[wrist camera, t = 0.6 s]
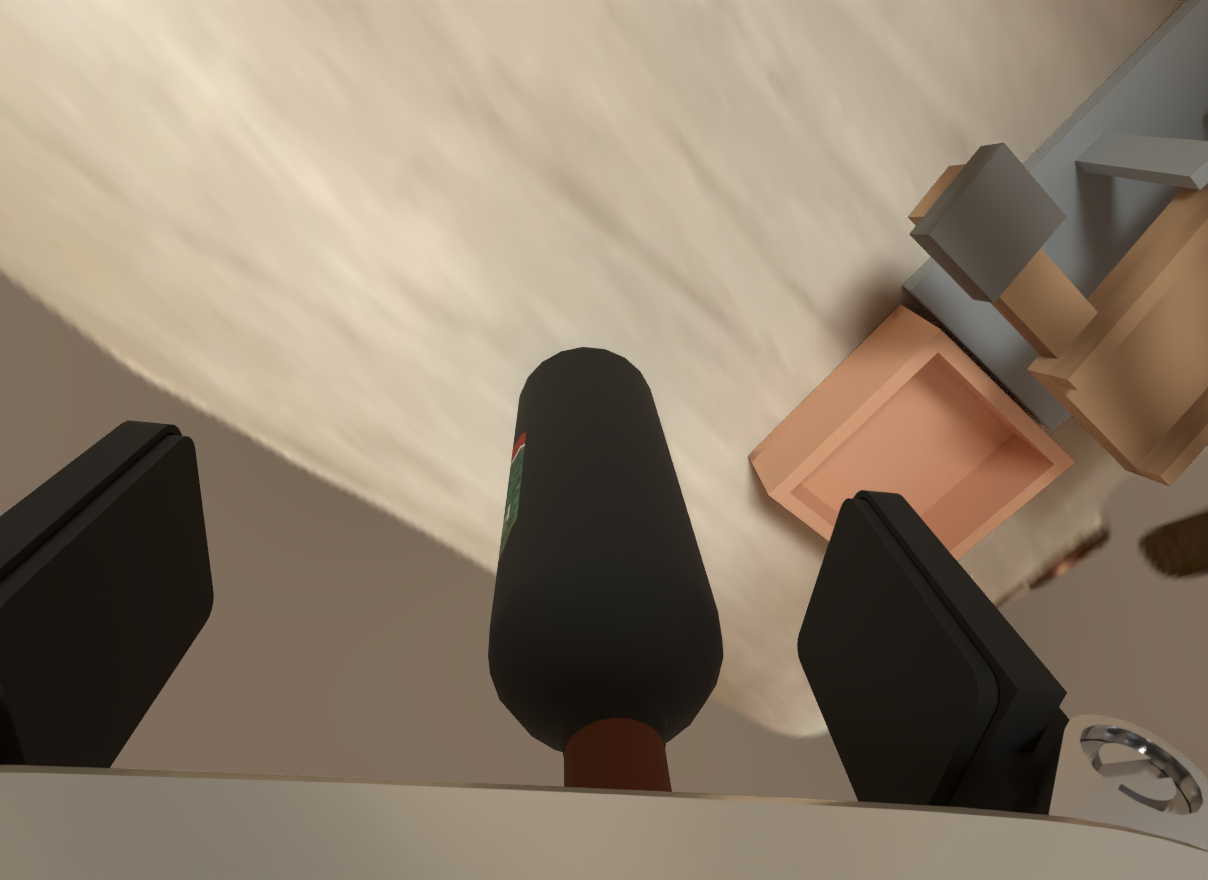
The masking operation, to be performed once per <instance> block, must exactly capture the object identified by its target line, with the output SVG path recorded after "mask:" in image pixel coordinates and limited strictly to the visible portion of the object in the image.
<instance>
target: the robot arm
mask: <svg viewBox="0 0 1208 880" xmlns="http://www.w3.org/2000/svg"><path fill="white" fill-rule="evenodd" d="M213 597H214V596H213V585H212V578H211V571H210V562H209V554H208V546H207V538H206V531H205V523H204V515H203V507H202V499H201V491H200V483H199V476H198V468H197V460H196V452H195V446H194V443H193V441H192V439H191V438H190V437H187V436H182V434H181V432H180V430H179V428H178V427H176V426H175V425H170V424H159V423H149V422H139V421H126V422H124V423H122V424H120V425H119V426H118V427H116V428H115V429H114V430H113V431H111V432H110V433H109V434H107V435H106V436H105V437H103V438H102V439H101V440H100V441H98V442H97V443H96V444H94V445H93V446H92V447H90V448H89V449H88V450H87V451H85V452H84V453H83V454H81V455H80V456H79V457H77V458H76V459H75V460H73V461H72V462H71V463H70V464H68V465H67V466H66V467H64V468H63V469H62V470H60V471H59V472H58V473H56V474H55V475H54V476H53V477H51V478H50V479H49V480H47V481H46V482H45V483H43V484H42V485H41V486H39V487H38V488H37V489H36V490H35V491H33V492H32V493H30V494H29V495H28V496H26V497H25V498H24V499H23V500H21V501H20V502H19V503H17V504H16V505H15V506H13V507H12V508H11V509H9V510H8V511H7V512H5V513H4V514H3V515H2V516H0V880H1208V780H1207V779H1206V777H1205V776H1204V774H1203V773H1202V772H1200V770H1199V769H1198V768H1197V767H1196V766H1194V765H1193V764H1192V763H1191V762H1190V761H1189V760H1188V759H1187V758H1186V757H1185V756H1184V755H1182V754H1181V753H1180V752H1179V751H1177V750H1176V749H1174V748H1173V747H1172V746H1170V745H1169V744H1168V743H1166V742H1165V741H1164V740H1162V739H1160V738H1158V737H1157V736H1155V735H1153V734H1151V733H1149V732H1148V731H1146V730H1144V729H1142V728H1140V727H1138V726H1135V725H1133V724H1130V723H1128V722H1125V721H1123V720H1120V719H1117V718H1113V717H1108V716H1104V715H1099V714H1090V715H1089V714H1087V715H1080V716H1077V717H1075V718H1073V719H1070V720H1069V719H1068V718H1067V716H1066V715H1065V714H1064V713H1063V711H1062V710H1061V709H1060V708H1059V706H1060V704H1061V702H1062V700H1063V699H1064V697H1065V695H1066V693H1067V692H1066V691H1065V689H1064V688H1063V687H1062V686H1061V685H1060V684H1059V683H1058V681H1057V680H1056V679H1055V678H1054V676H1052V674H1051V673H1050V672H1049V670H1048V669H1047V668H1046V667H1045V666H1044V665H1043V663H1042V662H1041V661H1040V660H1039V658H1038V657H1037V656H1036V655H1035V654H1034V652H1033V651H1032V650H1031V649H1030V648H1029V647H1028V645H1027V644H1026V643H1025V642H1024V640H1023V639H1022V638H1021V637H1020V636H1019V635H1018V633H1017V632H1016V631H1015V630H1014V629H1013V627H1012V626H1011V625H1010V624H1009V623H1008V621H1007V620H1006V619H1005V618H1004V617H1003V615H1002V614H1001V613H1000V612H999V611H998V609H997V608H996V607H995V606H994V605H993V603H992V602H991V601H990V600H989V599H988V597H987V596H986V595H985V594H984V593H983V591H982V590H981V589H980V588H979V587H978V586H977V584H976V583H975V582H974V581H973V580H972V578H971V577H970V576H969V575H968V574H967V572H966V571H965V570H964V569H963V568H962V566H961V565H960V564H959V563H958V562H957V560H956V559H955V558H954V557H953V556H952V554H951V553H950V552H949V551H948V550H947V548H946V547H945V546H944V545H943V544H942V543H941V541H940V540H939V539H938V538H937V537H936V535H935V534H934V533H933V532H932V531H931V529H930V528H929V527H928V526H927V525H926V523H925V522H924V521H923V520H922V519H921V517H920V516H919V515H918V514H917V513H916V511H915V510H914V509H913V508H912V507H911V505H910V504H909V503H908V502H907V501H906V499H905V498H904V497H903V496H902V495H900V494H898V493H888V492H878V491H867V490H861V491H859V492H857V493H856V495H855V496H854V497H853V499H852V498H847V499H846V500H845V501H844V502H843V503H842V505H841V508H840V511H839V514H838V517H837V520H836V523H835V526H834V529H833V532H832V535H831V538H830V541H829V544H828V547H827V550H826V553H825V556H824V559H823V562H822V565H821V569H820V572H819V575H818V578H817V581H816V584H815V587H814V590H813V593H812V596H811V599H810V602H809V605H808V608H807V611H806V614H805V617H804V620H803V623H802V626H801V629H800V632H799V636H798V644H797V647H798V656H799V660H800V662H801V665H802V667H803V670H804V672H805V674H806V677H807V679H808V682H809V684H810V686H811V689H812V691H813V694H814V696H815V698H816V701H817V703H818V706H819V708H820V710H821V713H822V715H823V718H824V720H825V722H826V725H827V727H828V730H829V732H830V734H831V736H832V739H833V742H834V744H835V746H836V749H837V751H838V754H839V756H840V758H841V761H842V763H843V765H844V768H845V770H846V773H847V775H848V777H849V780H850V782H851V784H852V787H853V789H854V792H855V794H856V797H857V799H858V801H840V800H822V799H821V800H820V799H802V798H780V797H763V796H742V795H723V794H704V793H683V792H665V791H644V790H622V789H600V788H579V787H557V786H535V785H511V784H490V783H467V782H445V781H421V780H399V779H376V778H375V779H374V778H351V777H349V778H348V777H325V776H300V775H274V774H248V773H224V772H198V771H171V770H146V769H120V768H119V769H118V768H110V767H111V765H112V763H113V762H114V760H115V759H116V757H117V756H118V754H119V753H120V751H121V750H122V748H123V747H124V745H125V744H126V742H127V741H128V739H129V738H130V736H131V735H132V733H133V732H134V730H135V729H136V727H137V726H138V724H139V722H140V721H141V720H142V718H143V717H144V715H145V714H146V712H147V711H148V709H149V708H150V706H151V704H152V703H153V702H154V700H155V699H156V697H157V696H158V694H159V693H160V691H161V690H162V688H163V687H164V685H165V683H166V682H167V680H168V679H169V677H170V676H171V674H172V673H173V671H174V670H175V668H176V667H177V665H178V664H179V662H180V661H181V659H182V658H183V656H184V655H185V653H186V652H187V650H188V649H189V647H190V646H191V644H192V643H193V641H194V640H195V638H196V637H197V635H198V634H199V632H200V631H201V629H202V628H203V626H204V625H205V623H206V622H207V620H208V618H209V616H210V613H211V610H212V605H213Z"/></svg>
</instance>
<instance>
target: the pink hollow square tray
mask: <svg viewBox="0 0 1208 880" xmlns="http://www.w3.org/2000/svg"><path fill="white" fill-rule="evenodd" d="M749 458H750V460H751V462H752V464H753V466H754V468H755V470H756V472H757V474H758V476H759V478H760V480H761V482H762V484H763V485H764V487H765V489H766V491H767V493H768V495H769V496H770V497H772V498H773V499H774V500H776V501H777V502H778V503H779V504H781V505H782V506H783V507H785V508H786V509H787V510H789V511H790V512H791V513H792V514H794V515H795V516H796V517H798V518H799V519H800V520H802V521H803V522H804V523H806V524H807V525H808V526H809V527H811V528H812V529H813V530H815V531H816V532H817V533H819V534H820V535H821V536H822V537H824V538H825V539H826V540H828V541H830V538H831V535H832V532H833V529H834V526H835V523H836V520H837V517H838V514H839V511H840V508H841V505H842V503H843V502H844V501H845V500H846V499H847V498H852V499H853V497H854V496H855V495H856V493H857V492H859V491H861V490H867V491H878V492H888V493H898V494H900V495H902V496H903V497H904V498H905V499H906V501H907V502H908V503H909V504H910V505H911V507H912V508H913V509H914V510H915V511H916V513H917V514H918V515H919V516H920V517H921V519H922V520H923V521H924V522H925V523H926V525H927V526H928V527H929V528H930V529H931V531H932V532H933V533H934V534H935V535H936V537H937V538H938V539H939V540H940V541H941V543H942V544H943V545H944V546H945V547H946V548H947V550H948V551H949V552H950V553H951V554H952V556H953V557H954V558H955V559H956V560H958V559H959V558H960V557H961V556H963V555H964V554H965V553H966V552H967V551H969V550H970V549H971V548H972V547H973V546H975V545H976V544H977V543H978V542H979V541H981V540H982V539H983V538H984V537H986V536H987V535H988V534H989V533H990V532H992V531H993V530H994V529H995V528H996V527H998V526H999V525H1000V524H1001V523H1002V522H1004V521H1005V520H1006V519H1007V518H1009V517H1010V516H1011V515H1012V514H1013V513H1015V512H1016V511H1017V510H1018V509H1019V508H1021V507H1022V506H1023V505H1024V504H1025V503H1027V502H1028V501H1029V500H1030V499H1032V498H1033V497H1034V496H1035V495H1036V494H1038V493H1039V492H1040V491H1041V490H1042V489H1044V488H1045V487H1046V486H1047V485H1048V484H1050V483H1051V482H1052V481H1053V480H1055V479H1056V478H1057V477H1058V476H1059V475H1061V474H1062V473H1063V472H1064V471H1065V470H1067V469H1068V468H1069V467H1070V466H1071V465H1073V464H1074V463H1075V461H1074V460H1073V459H1072V458H1071V457H1070V456H1069V455H1068V454H1067V453H1066V452H1065V451H1064V450H1063V449H1062V448H1061V447H1060V446H1059V445H1058V444H1057V443H1056V442H1055V441H1054V440H1053V439H1051V438H1050V437H1049V436H1048V435H1047V434H1046V433H1045V432H1044V431H1043V430H1042V429H1041V428H1040V427H1039V426H1038V425H1037V424H1036V423H1035V422H1034V421H1033V420H1032V419H1031V418H1030V417H1029V416H1028V415H1027V414H1026V413H1025V412H1024V411H1023V410H1022V409H1021V408H1020V407H1019V406H1018V405H1017V404H1016V403H1015V402H1014V401H1013V400H1012V399H1011V398H1010V397H1009V396H1008V395H1007V394H1006V393H1005V392H1004V391H1003V390H1002V389H1001V388H1000V387H999V386H998V385H997V384H996V383H995V382H994V381H993V380H992V379H991V378H990V377H989V376H988V375H987V374H985V373H984V372H983V371H982V370H981V369H980V368H979V367H978V366H977V365H976V364H975V363H974V362H973V361H972V360H971V359H970V358H969V357H968V356H967V355H966V354H965V353H964V352H963V351H962V350H961V349H960V348H959V347H958V346H957V345H956V344H955V343H954V342H953V341H952V340H951V339H950V338H949V337H948V336H947V335H946V334H945V333H944V332H943V331H942V330H941V329H939V328H938V327H936V326H934V325H933V324H931V323H930V322H928V321H926V320H925V319H923V318H922V317H920V316H918V315H917V314H915V313H914V312H912V311H910V310H909V309H907V308H906V307H904V306H903V305H901V304H900V305H899V306H898V307H897V308H896V309H895V310H894V311H893V312H892V313H891V314H890V315H889V316H888V317H887V318H886V319H885V320H884V321H883V322H882V323H881V324H880V325H879V326H878V327H877V328H876V329H875V330H874V331H873V332H872V333H871V334H870V335H869V336H868V337H867V338H866V339H865V340H864V341H863V342H862V343H861V344H860V345H859V346H858V347H857V348H856V349H855V350H854V351H853V352H852V353H851V354H850V355H849V356H848V357H847V358H846V359H845V360H844V361H843V362H842V363H841V364H840V365H839V366H838V367H837V368H836V369H835V370H834V371H833V372H832V373H831V374H830V375H829V376H828V377H827V378H826V379H825V380H824V381H823V382H822V383H821V384H820V385H819V386H818V387H817V388H816V389H815V390H814V391H813V392H812V393H811V394H810V395H809V396H808V397H807V398H806V399H805V400H804V401H803V402H802V403H801V404H800V405H799V406H798V407H797V408H796V409H795V410H794V411H793V412H792V413H791V414H790V415H789V416H788V417H787V418H786V419H785V420H784V421H783V422H782V423H781V424H780V425H779V426H778V427H777V428H776V429H775V430H774V431H773V432H772V433H771V434H770V435H769V436H768V437H767V438H766V439H765V440H764V441H763V442H762V443H761V444H760V445H759V446H758V447H757V448H756V449H755V450H754V451H753V452H752V453H751V454H750V455H749Z"/></svg>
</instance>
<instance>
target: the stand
mask: <svg viewBox="0 0 1208 880" xmlns="http://www.w3.org/2000/svg"><path fill="white" fill-rule="evenodd" d="M1023 166H1024V167H1025V168H1026V169H1027V170H1028V172H1029V173H1030V174H1031V175H1032V176H1033V178H1034V179H1035V180H1036V181H1037V182H1038V183H1039V185H1040V186H1041V187H1042V188H1043V189H1044V190H1045V192H1046V193H1047V194H1048V195H1049V196H1050V198H1051V199H1052V200H1053V201H1054V202H1055V203H1056V205H1057V206H1058V207H1059V208H1060V209H1061V210H1062V212H1063V213H1064V214H1065V215H1066V216H1067V217H1066V218H1065V220H1064V221H1063V222H1062V223H1061V224H1060V226H1059V227H1058V228H1057V229H1056V230H1055V231H1054V233H1053V234H1052V235H1051V236H1050V237H1049V239H1048V240H1047V241H1046V242H1045V243H1044V245H1043V246H1042V247H1041V249H1042V250H1043V251H1044V252H1045V253H1046V254H1047V256H1048V257H1049V258H1050V259H1051V260H1052V261H1053V262H1054V264H1055V265H1056V266H1057V267H1058V268H1059V269H1060V270H1061V271H1062V273H1063V274H1064V275H1065V276H1066V277H1067V278H1068V279H1069V280H1070V282H1071V283H1072V284H1073V285H1074V286H1075V287H1076V288H1077V289H1078V291H1079V292H1080V293H1081V294H1082V295H1083V296H1084V297H1085V298H1086V300H1087V299H1088V298H1089V297H1090V295H1091V294H1092V293H1093V292H1094V291H1095V290H1096V288H1097V287H1098V286H1099V285H1100V284H1101V283H1102V281H1103V280H1104V279H1105V278H1106V277H1107V276H1108V275H1109V273H1110V272H1111V271H1112V270H1113V269H1114V268H1115V266H1116V265H1117V264H1118V263H1119V262H1120V261H1121V259H1122V258H1123V257H1124V256H1125V255H1126V254H1127V252H1128V251H1129V250H1130V249H1131V248H1132V247H1133V245H1134V244H1135V243H1136V242H1137V241H1138V240H1139V238H1140V237H1141V236H1142V235H1143V234H1144V233H1145V231H1146V230H1147V229H1148V228H1149V227H1150V226H1151V224H1152V223H1153V222H1154V221H1155V220H1156V219H1157V217H1158V216H1159V215H1160V214H1161V213H1162V212H1163V210H1164V209H1165V208H1166V207H1167V206H1168V205H1169V204H1170V202H1171V201H1172V200H1173V199H1174V198H1175V197H1176V195H1177V194H1178V193H1179V192H1180V191H1181V190H1182V188H1183V187H1184V188H1190V189H1197V190H1201V189H1202V188H1203V187H1204V186H1205V185H1206V184H1207V183H1208V0H1186V1H1185V2H1184V3H1183V4H1182V5H1181V6H1180V7H1179V8H1178V9H1177V10H1176V11H1175V12H1174V13H1173V14H1172V15H1171V16H1170V17H1169V18H1168V19H1167V20H1166V21H1165V22H1164V23H1163V24H1162V25H1161V26H1160V27H1159V28H1158V29H1157V31H1156V32H1155V33H1154V34H1153V35H1152V36H1151V37H1150V38H1149V39H1148V40H1147V41H1146V42H1145V43H1144V44H1143V45H1142V46H1141V47H1140V48H1139V49H1138V50H1137V51H1136V52H1135V53H1134V54H1133V55H1132V56H1131V57H1130V58H1129V59H1128V60H1127V61H1126V62H1125V63H1124V64H1123V65H1122V66H1121V67H1120V68H1119V69H1118V70H1117V71H1116V72H1115V73H1114V74H1113V75H1112V76H1111V77H1110V78H1109V79H1108V80H1107V81H1106V82H1105V83H1104V84H1103V85H1102V86H1101V87H1100V88H1099V89H1098V90H1097V91H1096V92H1095V93H1094V94H1093V95H1092V96H1091V97H1090V98H1089V99H1088V100H1087V101H1086V102H1085V103H1084V104H1083V105H1082V106H1081V107H1080V108H1079V109H1078V110H1077V111H1076V112H1075V113H1074V114H1073V115H1072V116H1071V117H1070V118H1069V119H1068V120H1067V121H1066V122H1065V123H1064V124H1063V125H1062V126H1061V127H1060V128H1059V129H1058V130H1057V131H1056V132H1055V133H1054V134H1053V135H1052V136H1051V137H1050V138H1049V139H1048V140H1047V141H1046V142H1045V143H1044V144H1043V145H1042V146H1041V147H1040V148H1039V149H1038V150H1037V151H1036V152H1035V153H1034V154H1033V155H1032V156H1031V157H1030V158H1029V159H1028V160H1027V161H1026V162H1025V163H1024V164H1023ZM903 287H904V288H905V289H906V290H907V291H908V292H909V293H910V294H911V295H912V296H913V297H914V298H915V299H916V300H917V301H918V302H919V303H920V304H921V305H922V306H923V307H924V308H925V309H926V310H927V311H928V312H929V313H930V314H931V315H932V316H933V317H934V318H935V319H936V320H937V321H938V322H939V323H940V324H941V325H942V326H943V327H944V328H945V329H946V330H947V331H948V332H949V333H950V334H951V335H952V336H953V337H954V338H955V339H956V340H957V341H958V342H959V343H961V344H962V345H963V346H964V347H965V348H966V349H967V350H968V351H969V352H970V353H971V354H972V355H973V356H974V357H975V358H976V359H977V360H978V361H979V362H980V363H981V364H982V365H983V366H984V367H985V368H986V369H987V370H988V371H989V372H990V373H991V374H992V375H993V376H994V377H995V378H996V379H997V380H998V381H999V382H1000V383H1001V384H1002V385H1003V386H1004V387H1005V388H1006V389H1007V390H1008V391H1009V392H1010V393H1011V394H1012V395H1013V396H1014V397H1015V398H1016V399H1017V400H1018V401H1019V402H1020V403H1021V404H1022V405H1023V406H1024V407H1025V408H1026V409H1027V410H1028V411H1029V412H1030V413H1031V414H1032V415H1033V416H1034V417H1035V418H1036V419H1037V420H1038V421H1039V422H1040V423H1041V424H1042V425H1044V426H1045V427H1047V428H1048V429H1050V430H1051V431H1055V430H1056V429H1057V428H1058V427H1059V426H1060V425H1062V424H1063V423H1064V422H1065V421H1066V420H1067V419H1069V418H1070V417H1071V416H1072V415H1071V414H1070V413H1069V412H1068V411H1067V410H1066V409H1065V408H1064V407H1063V405H1062V404H1061V403H1060V402H1059V401H1058V400H1057V399H1056V398H1055V397H1054V396H1053V395H1052V394H1051V393H1050V392H1049V391H1048V390H1047V389H1046V388H1045V387H1044V386H1043V385H1042V384H1041V383H1040V382H1039V381H1038V380H1037V379H1036V378H1035V377H1034V376H1033V375H1032V374H1031V373H1030V372H1029V371H1028V370H1027V369H1028V368H1029V366H1030V365H1031V364H1032V363H1033V362H1034V361H1035V359H1036V358H1037V357H1038V356H1039V355H1040V354H1039V353H1038V352H1037V351H1036V350H1035V349H1034V348H1033V347H1032V346H1031V345H1030V344H1029V343H1028V342H1027V341H1026V340H1025V339H1024V338H1023V337H1022V336H1021V335H1020V333H1019V332H1018V331H1017V330H1016V329H1015V328H1014V327H1013V326H1012V325H1011V324H1010V323H1009V322H1008V321H1007V320H1006V319H1005V318H1004V317H1003V316H1002V315H1001V314H1000V313H999V312H998V311H997V310H996V308H995V307H994V306H993V305H992V304H991V303H990V302H985V301H978V300H973V299H972V298H971V297H970V296H969V295H968V294H967V293H966V292H965V291H964V290H963V289H962V288H961V287H960V286H959V285H958V284H957V283H956V282H955V281H954V280H953V279H952V278H951V277H950V276H949V274H948V273H947V272H946V271H945V270H944V269H943V268H942V267H941V266H940V265H939V264H938V263H937V262H936V261H935V260H934V259H933V258H932V257H931V258H930V259H929V260H928V261H927V262H926V263H925V264H924V265H923V266H922V267H921V268H920V269H919V270H918V271H917V272H916V273H915V274H914V275H913V276H912V277H911V278H910V279H909V280H908V281H907V282H906V283H905V284H904V285H903Z"/></svg>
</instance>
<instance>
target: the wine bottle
mask: <svg viewBox="0 0 1208 880" xmlns="http://www.w3.org/2000/svg"><path fill="white" fill-rule="evenodd" d="M488 658H489V668H490V675H491V677H492V680H493V683H494V686H495V688H496V691H497V694H498V697H499V699H500V701H501V702H502V703H503V704H504V705H505V706H506V708H507V709H508V710H509V711H510V712H511V713H512V714H513V715H514V717H515V718H516V719H517V720H518V721H519V722H520V723H521V724H522V726H523V727H524V728H525V729H526V730H527V731H528V732H529V734H530V735H531V736H532V737H534V738H536V739H537V740H539V741H541V742H543V743H544V744H546V745H548V746H549V747H551V748H553V749H554V750H557V751H561V752H563V756H564V787H579V788H600V789H622V790H644V791H665V792H672V790H671V784H670V778H669V772H668V765H667V759H666V752H665V746H666V743H667V742H669V741H670V740H671V739H672V738H674V737H675V736H676V735H678V734H679V733H680V732H681V731H683V730H684V729H685V728H686V727H688V726H689V725H690V724H691V723H692V721H693V720H694V718H695V717H696V715H697V714H698V712H699V711H700V709H701V708H702V707H703V705H704V704H705V702H706V700H707V699H708V697H709V696H710V694H711V692H712V691H713V689H714V688H715V686H716V684H717V680H718V676H719V672H720V668H721V664H722V660H723V644H722V635H721V629H720V622H719V616H718V610H717V607H716V604H715V601H714V597H713V594H712V591H711V587H710V584H709V581H708V578H707V574H706V571H705V568H704V564H703V561H702V558H701V555H700V551H699V548H698V545H697V541H696V538H695V535H694V531H693V528H692V525H691V522H690V518H689V515H688V512H687V508H686V505H685V502H684V499H683V495H682V492H681V489H680V485H679V482H678V479H677V476H676V472H675V469H674V466H673V462H672V459H671V456H670V452H669V449H668V446H667V443H666V439H665V436H664V433H663V429H662V426H661V423H660V420H659V416H658V413H657V410H656V406H655V403H654V400H653V397H652V393H651V390H650V388H649V386H648V384H647V382H646V381H645V379H644V377H643V375H642V374H641V372H640V371H639V370H638V369H637V368H636V367H635V366H633V365H632V364H631V363H630V362H629V361H628V360H627V359H625V358H624V357H622V356H619V355H617V354H615V353H612V352H610V351H608V350H605V349H597V348H586V347H581V348H576V349H571V350H567V351H562V352H560V353H558V354H556V355H554V356H552V357H551V358H549V359H547V360H545V361H543V362H542V363H541V364H540V365H539V366H538V367H537V368H536V369H535V370H534V372H533V373H532V374H531V375H530V376H529V377H528V379H527V381H526V383H525V385H524V388H523V390H522V392H521V394H520V398H519V406H518V414H517V421H516V429H515V437H514V445H513V452H512V460H511V468H510V476H509V483H508V491H507V499H506V507H505V514H504V522H503V530H502V538H501V545H500V553H499V561H498V569H497V576H496V584H495V592H494V600H493V607H492V615H491V624H490V635H489V650H488Z"/></svg>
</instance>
